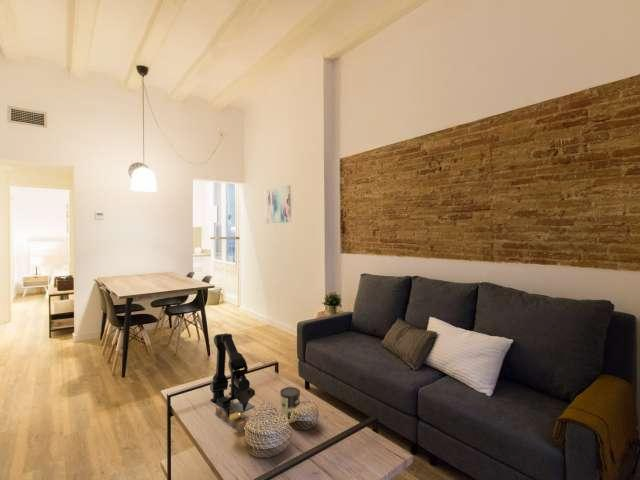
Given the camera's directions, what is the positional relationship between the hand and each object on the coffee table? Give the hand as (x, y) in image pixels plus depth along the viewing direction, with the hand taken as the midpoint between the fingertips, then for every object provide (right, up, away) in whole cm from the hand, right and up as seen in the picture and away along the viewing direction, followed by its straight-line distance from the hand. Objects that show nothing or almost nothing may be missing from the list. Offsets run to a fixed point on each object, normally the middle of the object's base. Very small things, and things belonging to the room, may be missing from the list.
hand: (236, 413), depth 170 cm
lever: (+1, -1, +2) cm, 2 cm away
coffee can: (+26, -7, +9) cm, 28 cm away
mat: (-2, -6, +19) cm, 20 cm away
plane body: (-3, -6, +6) cm, 9 cm away
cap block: (-8, -2, +10) cm, 12 cm away
